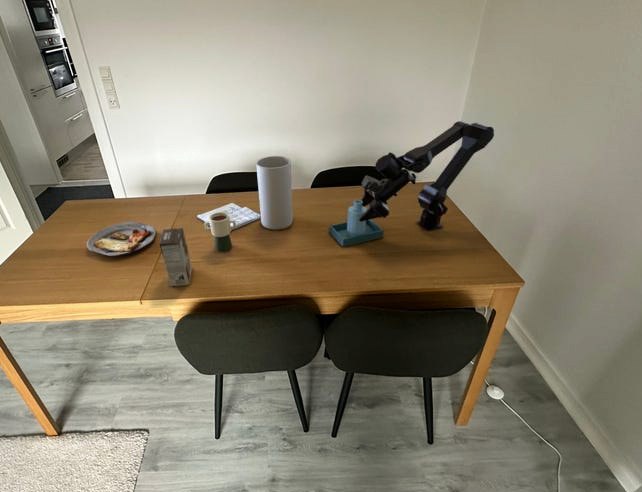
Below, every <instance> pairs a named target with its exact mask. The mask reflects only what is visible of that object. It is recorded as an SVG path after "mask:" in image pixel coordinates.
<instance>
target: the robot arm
mask: <svg viewBox="0 0 642 492" xmlns="http://www.w3.org/2000/svg"><path fill="white" fill-rule="evenodd" d="M494 137H495V129H494V127H492V126H490V125H488V124H487V125H486V124H483V123H481V122H474V123H467V122H465V121H461V120H459V121H456V122H454V123H453V125H452V126H451V127H448V129H446V130H445V131H443V132H442V133H440V134H439V135H438V136H436V137H435V138H433V139H432V140H430V141H429V142H428V143H426V144H424V145H422V146H417V147H414V148H413V149H410V150H409V151H407V152H405V154H403V155H400V156H398V157H397V156H396V155H395V154H394V153H393V152H388V153H387V154H385V155H383V156H381V157H379V158H378V159H377V161H376V162H375V166H374V167H375V169H376V171H378V173H380V175H382V176H383V177H384V178H382V179H381V180H378V179H377V178H375V177H372V176H369V175H365V176H364V178H363V180H362V182H361V186H362V189H364V191H363V194H362V197H361V198H360V200H361V201H362V206H363V207H365V208H366V206H368V208H367V211H366V212H365V213H364V214H363V215H362V216H361V217H360V219H359V221H360V222H362V221H366V220H373V219H378V218H380V219H386V218H387V217H388V216H389V215H390V208H389V207H388V204H389V202H388V201H389V200H390V199H391V198H392V197H395V198H396V197H397V196H399V195H398V192H400V191H401V190H402V189H403V188H404V187H406V186H407V185H408V184H409V183H411V184H412V185H416V182H417V181H416V179H417V175H416V174H420V173H422V172H423V171H425V169H427V168H428V167H429V166H431V163H432V162H433V159H435V157H437V156H438V155H440V154H441V153H442V152H444V151H445V150H447V149H448V148H450V147H451V146H452V145H454V144H455V143H457V142H458V141H460V140H461V139H462V140H461V146H460V147H459V148H458V149H457V151H456V152H455V154H454V155H453V157H452V158H451V160H450V161H448V164H447V165H446V166H445V168H444V169H443V171H441V172H440V175H438V177H437V179H436V180H435V181H434V182H433V183H430V184H429V183H426V184H424V186H423V188H422V190H421V191H420V192H419V195H418V196H417V202H418V204H419V207H420V208H422V213H421V215H420V219H419V221H417V224H418V225H420V226H421V227H422V228H424V230H426V231H432V230H436V229H439V228H443V225H442V224H441V219H442V217H443V216H444V215H446V214H447V212H448V210H449V208H448V207H447V206H446V205H445V204H444V203H445V201H446V200H447V193H448V190H449V188H450V187H451V186H452V184H453V183H454V181H455V180H456V179H457V177H458V176H459V175H460V174H461V172H462V171H463V170H464V168H465V167H466V165H467V164H468V163H469V161H470V160H471V159H472V157H473V156H474V155H475V154H476V153H478V152H480V151H481V150H483V149H485V148H486V147H487V146H488V145H489V143H490V142H491V141H492V140H493V139H494ZM411 172H413V173H411Z"/></svg>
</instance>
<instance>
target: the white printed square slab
mask: <svg viewBox="0 0 642 492" xmlns="http://www.w3.org/2000/svg"><path fill="white" fill-rule="evenodd" d="M217 212H225V213H228V214H229V217H230V220H235V222H236V228H235V229H231V231H233V230H236V229H238V228H241V227H243V226H246V225H248V224H250V223H252V222H254V221H258V220H259V219H261V214H259V213H257V212H255V211H254V210H252V209H250V208H249V207H248V206H243V207H241V206H239V205H237V204H235V203H234V202H230V203H228V204H226V205H223V206H220V207H218V208H215V209H212V210H210V211H206V212H204V213H201V214H198V215H197V218H198V219H200V220H202V221H203V222H204V223H205V222H208V221H209V217H210V215H212V214H214V213H217ZM230 225H231V226H233V223H230ZM208 226H210V224H208Z"/></svg>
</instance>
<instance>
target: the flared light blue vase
mask: <svg viewBox="0 0 642 492" xmlns="http://www.w3.org/2000/svg"><path fill="white" fill-rule="evenodd" d="M367 210H368V208H366V206H365V207H363V206H362V201H361V199H354V200H353V205H351V206H349V207H348V208H347V221H346V222H347V235H348V236H349V237H354V236H358V235H362V234H365V225H366V221H362V222H360V221H359V219H360V217H361V216H362V215H363V214H364V213H365V212H366V211H367Z"/></svg>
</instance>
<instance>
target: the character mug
mask: <svg viewBox="0 0 642 492" xmlns="http://www.w3.org/2000/svg"><path fill="white" fill-rule="evenodd" d="M230 223H233V226H231V225H230ZM209 224H210V225H209ZM204 228H205V231H211V234H212V236H213V237H214V248H215V250H216V251H218V252H226V251H229V250H230V249H232V247H233V243H232V239H231V236H230V233H231V231H232V230H231V229H233V230H236V229H237V228H236V222H235V220H230V217H229V214H228V213H225V212H217V213H214V214H212V215H210V217H209V221H208V222H205V221H204ZM235 228H236V229H235Z"/></svg>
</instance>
